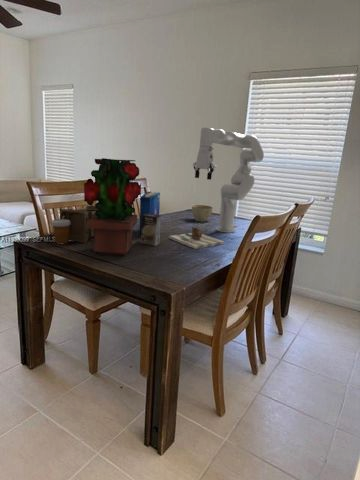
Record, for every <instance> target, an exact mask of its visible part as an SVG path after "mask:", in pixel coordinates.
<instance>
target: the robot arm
mask: <svg viewBox="0 0 360 480" xmlns="http://www.w3.org/2000/svg"><path fill="white" fill-rule="evenodd" d="M213 144H218V145H223V146H227V147H228V146H229V147H234V148H238V149H242V150H241V151H240V153H239V161H240V163H239V167H238V169H237V170H236V171H235V172H234V174H233V175H232V177H231V178H230V183H226V184H223V185H222V186H221V188H220V211H219V222H218V223H219V224H218V227H216V231H218V232H220V233H228V234H229V233H230V234H231V233H235V231H236V230H235V228H237V227H238V224H235V223H234V221H235V220H234V219H235V210H236V203H235V201H242V200H244V199H245V197H246V196H247V195H248V193H249V192H250V191H251V190H252V188H253V186H254V184H255V177H254V175H253V174H251V173H252V165H251V163H261V162H262V161H263V160H264V155H265V154H264V151H263V148H262V146H261V143H260V141H259V138H257V136H256V135H253V134H242V133H239V132H238V133H237V132H235V131H225V130H223V129H221V128H212V127H202V128H201V130H200V139H199V148H198V150H199V151H198V152H197V157H196V161H195V162H193V163H192V166H193V169H194V172H195V173H194V178H195V179H199V178H200V173H201V172H200V170H201V169H202V170H207V175H206V176H207V177H206V180H212V174H213V173H214V171H215V169H216V168H217V165H216V164H214V153H213V152H212V151H214V147H213Z"/></svg>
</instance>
